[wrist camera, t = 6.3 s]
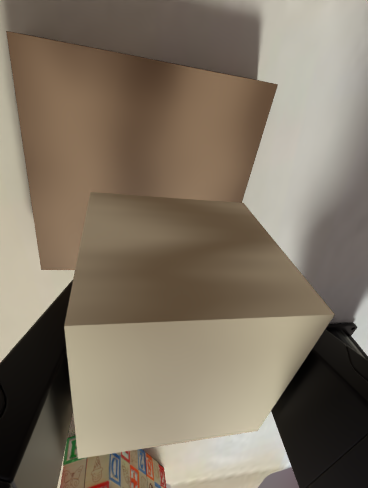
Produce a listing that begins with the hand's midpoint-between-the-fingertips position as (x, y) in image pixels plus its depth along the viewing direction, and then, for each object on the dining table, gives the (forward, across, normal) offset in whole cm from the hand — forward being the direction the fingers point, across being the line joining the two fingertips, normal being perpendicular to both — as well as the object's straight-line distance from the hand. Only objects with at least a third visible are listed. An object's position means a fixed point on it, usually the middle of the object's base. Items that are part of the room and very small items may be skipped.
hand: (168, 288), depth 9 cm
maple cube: (+2, 0, 0) cm, 2 cm away
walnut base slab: (+11, 0, 0) cm, 11 cm away
